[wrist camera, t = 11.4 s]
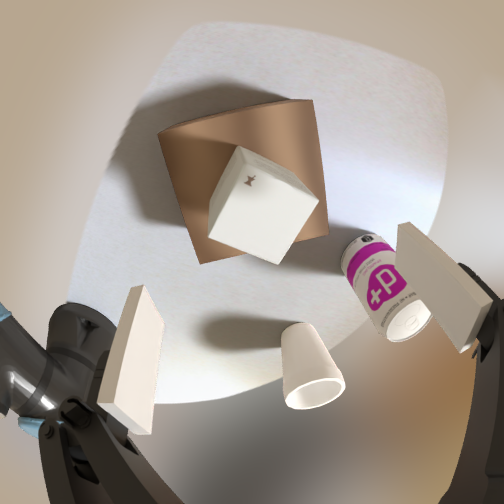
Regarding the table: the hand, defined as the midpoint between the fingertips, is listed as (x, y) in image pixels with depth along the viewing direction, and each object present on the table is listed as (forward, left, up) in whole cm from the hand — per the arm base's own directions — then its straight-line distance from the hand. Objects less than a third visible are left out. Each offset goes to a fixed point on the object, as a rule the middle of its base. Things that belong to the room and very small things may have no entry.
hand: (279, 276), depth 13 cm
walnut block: (0, 0, -22) cm, 22 cm away
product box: (0, 0, -14) cm, 14 cm away
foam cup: (+3, -31, -22) cm, 38 cm away
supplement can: (+15, -17, -22) cm, 32 cm away
